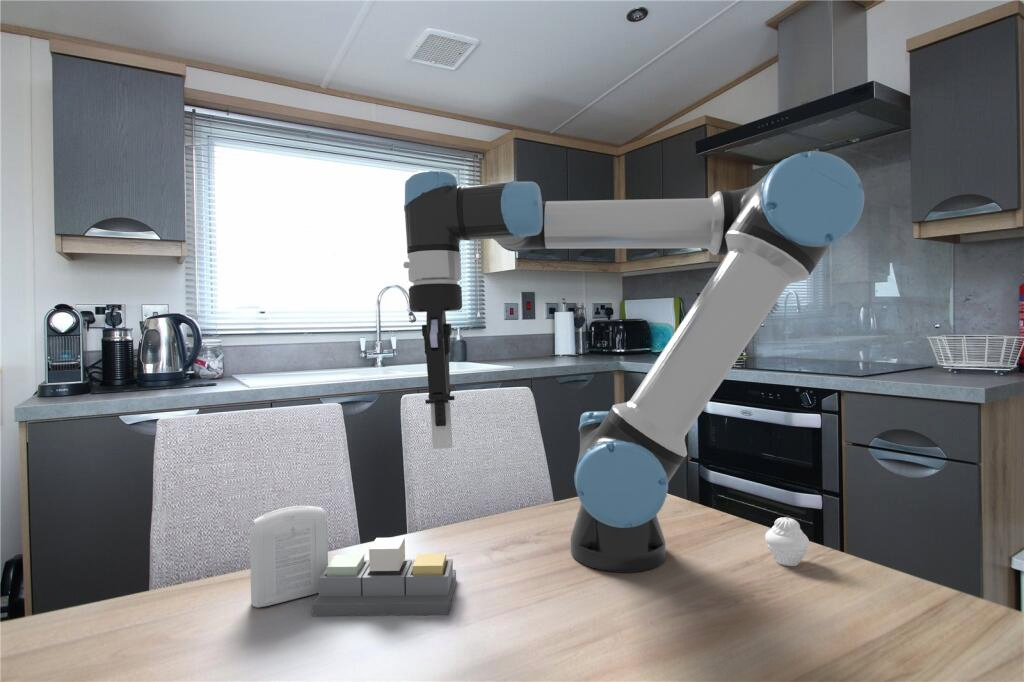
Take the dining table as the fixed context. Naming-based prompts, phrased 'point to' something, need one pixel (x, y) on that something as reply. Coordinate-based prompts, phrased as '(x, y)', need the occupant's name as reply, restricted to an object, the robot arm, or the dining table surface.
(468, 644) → the dining table surface
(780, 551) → the muffin
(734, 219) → the robot arm
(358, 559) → the key sage
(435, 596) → the keypad
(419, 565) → the key ochre
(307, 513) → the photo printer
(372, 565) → the key ivory
